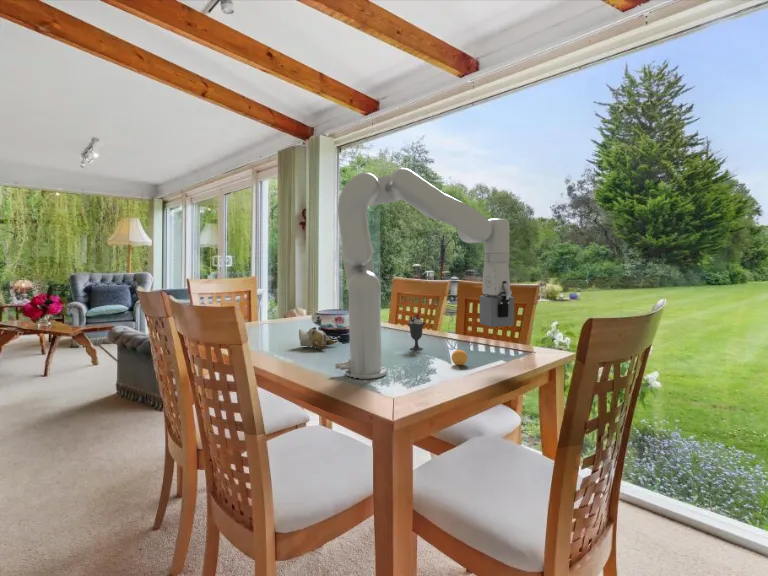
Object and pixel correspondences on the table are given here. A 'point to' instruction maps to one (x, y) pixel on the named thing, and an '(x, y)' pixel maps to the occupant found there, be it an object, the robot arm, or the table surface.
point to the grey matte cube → (495, 312)
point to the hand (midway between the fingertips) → (496, 314)
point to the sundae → (416, 330)
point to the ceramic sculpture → (314, 338)
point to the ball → (459, 357)
